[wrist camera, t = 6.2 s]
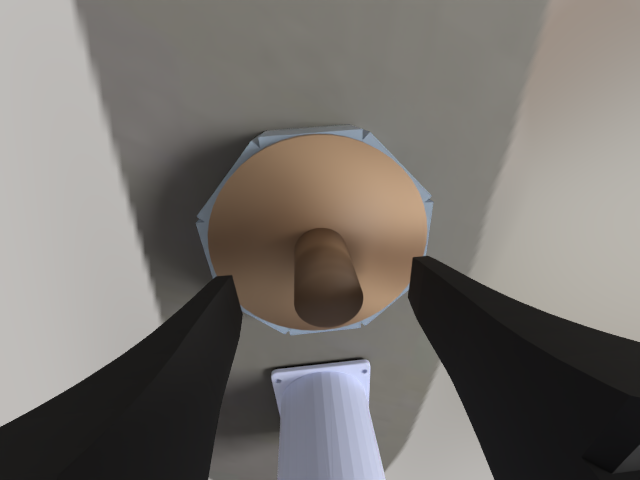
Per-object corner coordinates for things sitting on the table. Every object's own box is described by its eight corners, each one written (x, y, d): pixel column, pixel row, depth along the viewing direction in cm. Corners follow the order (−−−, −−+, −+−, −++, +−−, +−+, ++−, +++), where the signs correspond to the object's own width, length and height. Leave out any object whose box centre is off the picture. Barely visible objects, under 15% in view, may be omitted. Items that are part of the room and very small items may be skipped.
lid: (408, 311, 15) (445, 379, 12) (236, 327, 15) (215, 404, 11) (434, 126, 11) (510, 138, 7) (186, 141, 10) (120, 162, 6)
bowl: (398, 290, 18) (416, 321, 16) (241, 306, 18) (232, 341, 15) (415, 119, 13) (445, 122, 11) (196, 135, 13) (171, 143, 10)
